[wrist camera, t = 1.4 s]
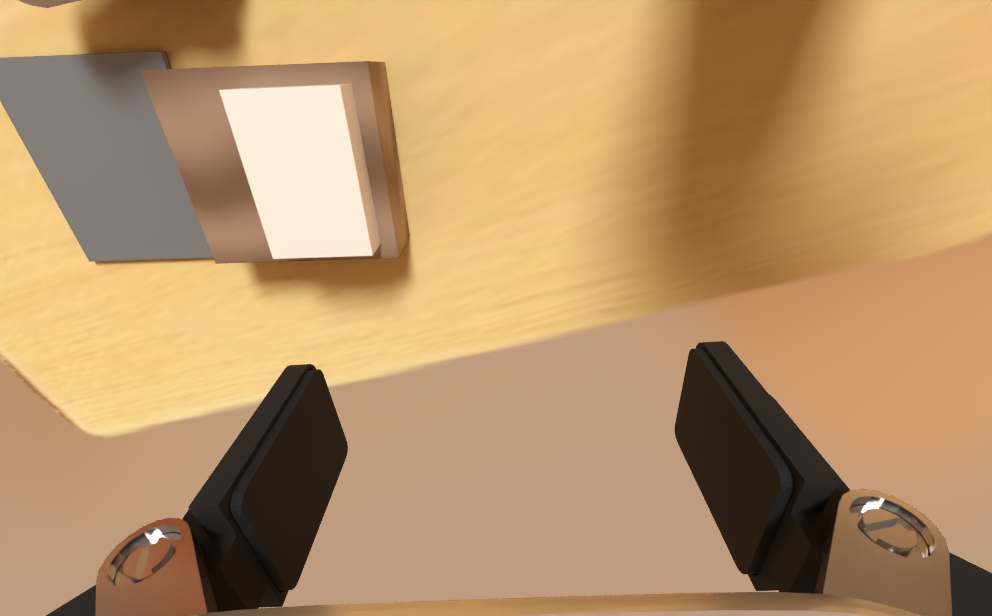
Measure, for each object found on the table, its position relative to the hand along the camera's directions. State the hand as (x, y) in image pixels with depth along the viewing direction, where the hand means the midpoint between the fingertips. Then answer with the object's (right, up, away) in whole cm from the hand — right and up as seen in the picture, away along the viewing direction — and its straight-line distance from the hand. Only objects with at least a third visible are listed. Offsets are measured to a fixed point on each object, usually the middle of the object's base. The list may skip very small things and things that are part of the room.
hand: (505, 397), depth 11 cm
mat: (-25, +12, +18) cm, 33 cm away
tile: (-11, +10, +14) cm, 20 cm away
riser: (-13, +12, +17) cm, 25 cm away
